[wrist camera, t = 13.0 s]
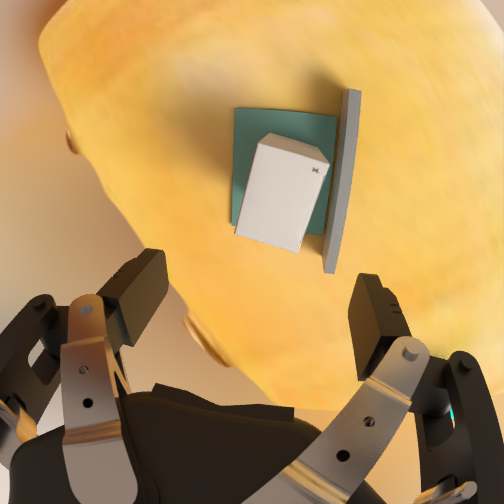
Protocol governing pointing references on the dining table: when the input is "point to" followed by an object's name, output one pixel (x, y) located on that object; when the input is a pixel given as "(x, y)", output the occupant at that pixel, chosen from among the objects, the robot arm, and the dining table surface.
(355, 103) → the divider wall
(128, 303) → the robot arm
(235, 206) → the mat
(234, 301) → the dining table surface
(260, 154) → the small box
